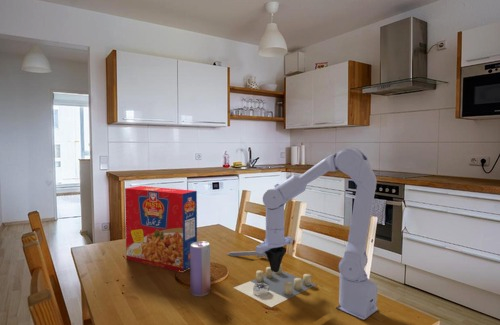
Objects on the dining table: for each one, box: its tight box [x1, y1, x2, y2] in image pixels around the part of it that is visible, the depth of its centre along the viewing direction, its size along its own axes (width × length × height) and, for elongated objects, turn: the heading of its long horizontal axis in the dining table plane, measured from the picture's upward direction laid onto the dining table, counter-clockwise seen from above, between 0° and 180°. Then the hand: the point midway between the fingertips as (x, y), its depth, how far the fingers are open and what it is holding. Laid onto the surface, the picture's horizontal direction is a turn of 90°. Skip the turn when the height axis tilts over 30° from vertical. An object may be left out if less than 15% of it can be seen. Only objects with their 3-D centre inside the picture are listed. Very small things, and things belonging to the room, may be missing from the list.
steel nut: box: [253, 283, 269, 297], centre depth 95 cm, size 5×4×2 cm
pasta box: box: [124, 185, 198, 272], centre depth 122 cm, size 28×8×28 cm, turn 63°
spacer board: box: [233, 263, 317, 308], centre depth 100 cm, size 16×21×4 cm
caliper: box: [226, 250, 268, 260], centre depth 127 cm, size 20×1×6 cm, turn 66°
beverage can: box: [189, 240, 211, 297], centre depth 97 cm, size 6×6×15 cm
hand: (275, 270), depth 99 cm, fingers closed
